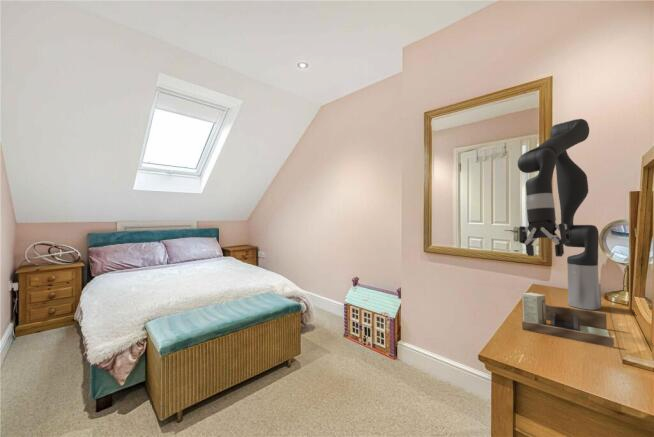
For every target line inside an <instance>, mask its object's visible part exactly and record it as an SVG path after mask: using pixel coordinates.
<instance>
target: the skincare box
mask: <svg viewBox="0 0 654 437" xmlns="http://www.w3.org/2000/svg"><path fill="white" fill-rule="evenodd" d="M521 295H522V296H521V298H522V299H521V300H522V301H521V302H522V318H523V320H522V321H527V322H532V323H538V324H543V325H547V319H546V306H545V304H546V294H540V293H536V292H530V291H529V292H522V293H521Z"/></svg>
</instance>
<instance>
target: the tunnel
mask: <svg viewBox="0 0 654 437" xmlns="http://www.w3.org/2000/svg"><path fill="white" fill-rule="evenodd" d="M545 306H546V321H547V320H548V321H550V323H549V324H546V325H543V324H538V323H532V322H527V321H523V320H522V322H521V323H522V326H521V327H522V328H521V329H522V330H523V329H524V330H525V331H529V332H535V333H539V334H545V335H549V336H553V337H559V338H563V339H569V340H573V341H574V340H575V341H578V342H584V343H589V344H594V345H600V346H604V347H609V348H614V340H615V339H614V337H613V336H610V333H609V330H608V329H607V328H608V327H607V326H608V325H607V321H608V319H607V313H606V312H600V311H595V310H588V309H581V308H575V307H572V308H571V307H564V306H558V305H552V304H546V303H545Z"/></svg>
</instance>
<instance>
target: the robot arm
mask: <svg viewBox="0 0 654 437" xmlns="http://www.w3.org/2000/svg"><path fill="white" fill-rule="evenodd" d="M549 135H550V136H549V137H550V138H548V139H545V140H544V141H543V142H542V143H541V144H539V145H538V146H537V147H535V148H532V149H530V150H528V151H526V152H524V153H522V154H521V155H520V157H519V158H518V159H517V167H518V169H519V171H521V172H522V173H524V174H532V173H537V172H538V174H537V175H536V176H534V177H531V178H529V179H527V180H526V182H525V192H526V204H525V205H526V217H527V223H528V226H519V227H518V234H519V235H518V240H519V244H523V245H525V250H526V251H525V253H526V255H527V256H529V257H534V256H535V250H534V245H533V244H534V242H535V241H537V240H538V239H543V238H544V239H549V240H551V241H552V242H553V243H554V252H555V257H559V258H560V257H562V256H564V254H565V251H564V250H565V248H564V246H565V247H567V248H568V247H570V248H584V251H583V252H579V253H578V254H573V255H569V256H567V258H566V261H567V262H566V264H567V298H568V299H567V300H568V304H567V305H569V306H571V307H572V308H575V309H580V310H588V311H595V310H600V309H602V285H601V283H599V282H600V281H599V243H600V242H599V241H600V240H599V239H600V233H599V229H598V227H597V226H595V225H594V224H574V219H575V218H574V217H575V214H576V212H577V210H578V209H579V208H580V206H581V205H582V204H583V202H584V201H585V200H586V198H587V196H588V194H589V183H588V176H587V174H586V172H585V171H584V170H583V169H582V168H581V167H580V166H579V165H577V163H575V161H573V160H572V159H571V158H570V156H569V154H568V152H567V150H568V149H571V148H572V147H574V146H576V145H578V144H580V143H582V142H585V141H586V140H587V139H588V137H589V135H590V126H589V123H588V121H587V120H586V119H583V118H578V119H572V120H569V121H564V122H560V123H557V124H554V125H553V126H552V127H551V128H550V134H549ZM554 170H555V172H556V184H557V193H558V200H559V201H558V202H559V207H560V223H559V224H557V223H556V220H557V219H556V209H555V208H556V207H555V199H554V196H553V187H552V186H553V184H552V181H553V175H554ZM556 231H559V234H560V236H559V235H558V233H556ZM528 232H530V233H529V234H528Z"/></svg>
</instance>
